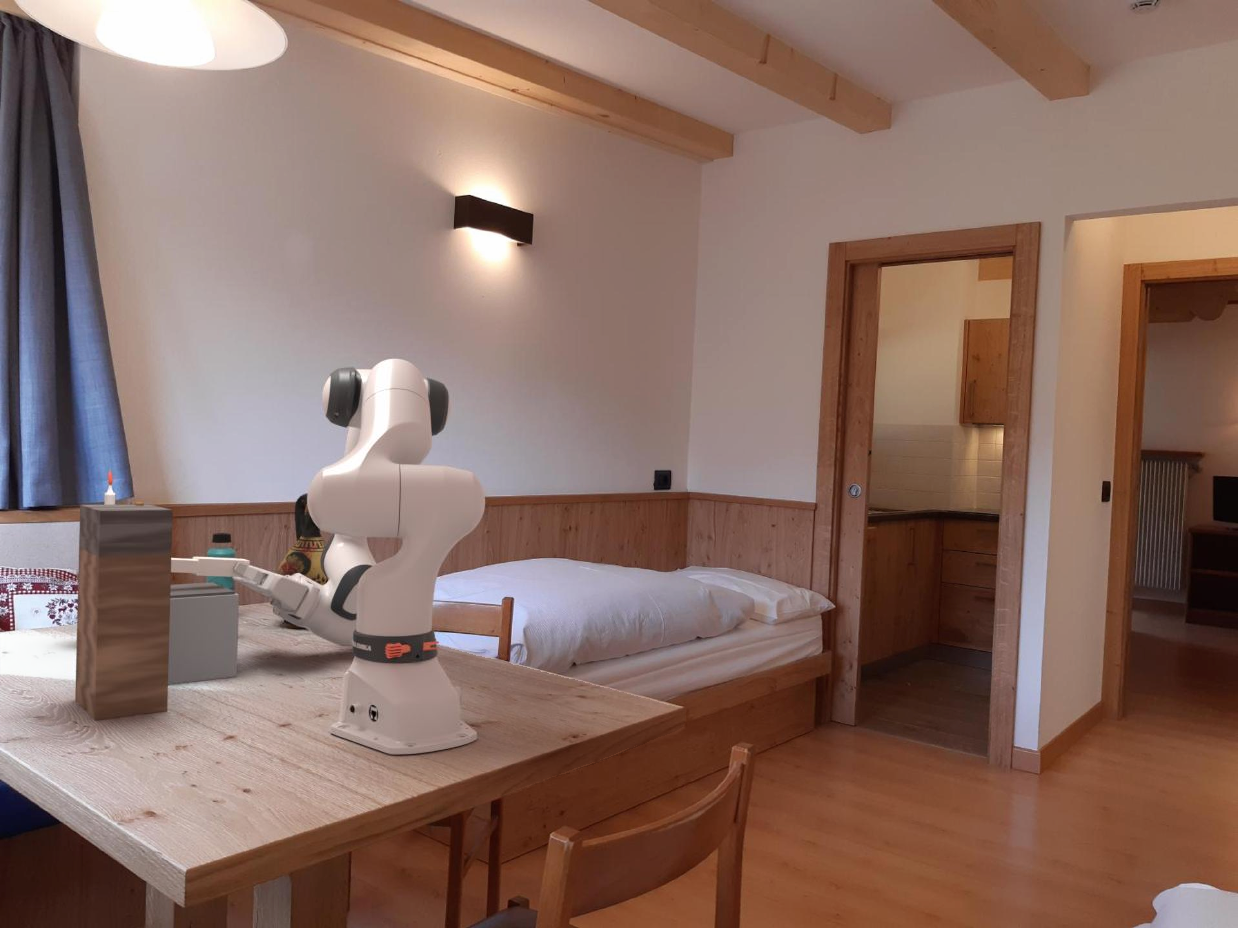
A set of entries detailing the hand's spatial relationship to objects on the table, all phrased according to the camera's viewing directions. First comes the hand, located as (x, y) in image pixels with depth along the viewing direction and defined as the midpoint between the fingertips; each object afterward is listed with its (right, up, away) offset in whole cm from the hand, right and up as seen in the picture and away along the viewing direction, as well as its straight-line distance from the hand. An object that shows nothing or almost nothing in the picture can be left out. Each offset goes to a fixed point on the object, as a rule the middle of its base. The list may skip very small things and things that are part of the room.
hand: (230, 564), depth 181 cm
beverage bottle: (-22, -18, +49) cm, 56 cm away
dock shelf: (-7, -19, -5) cm, 21 cm away
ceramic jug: (-1, -19, +45) cm, 49 cm away
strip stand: (-7, -19, -27) cm, 34 cm away
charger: (-4, -1, -4) cm, 6 cm away
